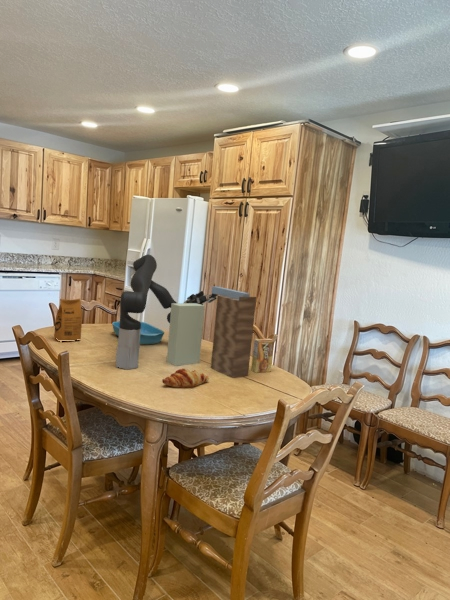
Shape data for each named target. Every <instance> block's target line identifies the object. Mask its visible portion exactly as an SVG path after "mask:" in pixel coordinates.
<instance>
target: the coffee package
mask: <svg viewBox="0 0 450 600" xmlns="http://www.w3.org/2000/svg"><path fill="white" fill-rule="evenodd" d="M59 302H60V304H59V306H58V309H57V313H56V315H55V319H54V320H55V323H54V334H53V335H54V336H53V337H54V339H55V338H57V339H58V340H77V339H82V338H81V337H82V326H83V325H82V323H83V321H82V320H83V311H82V304H81V303H82V301H81V298H75V299H65V298H60V299H59Z"/></svg>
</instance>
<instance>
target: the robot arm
mask: <svg viewBox="0 0 450 600" xmlns="http://www.w3.org/2000/svg"><path fill="white" fill-rule="evenodd" d="M157 265H158V264H157V260H156V259H155V257H154V256H153V255H152V254H144V255H143V256H142V257H139V258H138V259H136V260H134V261H133V263H132V266H133V269H134V271H135V272H134V273H133V275H132V277H131V279H130V287H131V290H132V291H129V290H124V291H122V292H121V295H120V298H119V299H120V300H119V301H120V302H119V321H120V325H119V336H118V339H117V340H118V341H117V342H118V344H117V346H116V353H115V354H116V355H115V368H118V367H119V369H124V370H132V369H136V368H138V367H139V357H140V346H141V345H140V332H141V323H140V322H141V321H140V320H137V319H135V318H133V317H132V316H130V315H129V313H130V314H142V313H144V312H145V309H146V306H147V300H148V294H149V291H150V292H152V293H153V295H154V296H155V297H156V299H157V300H158V302H159V303H160V305H161V307H162V309H165V310H167V309H171V303H178V302H177V301H176V300H174V298H173V296H172V295H171V292H169V290H168V289H167V288H166V287H165V286H162V285H161V284H159V283H157V282H156V281H154V280H152V279H153V277H154V273H155V272H156V270H157ZM218 296H219V295H217V294H213V293H212V292H211V293H210V294H207V293H206V294H205V293H204V291H203V290H201V291H199V292H198V293H195V294H194V293H192V294H191V295H189V296H188V297H187V298H186V300H184V301H183V303H197V304H201V305H205V304H206V303H208V304H210V303H212V302H214V301H217V297H218ZM170 315H171V311H170V312H168V314H167V315H166V320H167V322H168V323H169V324H170Z"/></svg>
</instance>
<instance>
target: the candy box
mask: <svg viewBox="0 0 450 600" xmlns="http://www.w3.org/2000/svg"><path fill="white" fill-rule="evenodd" d="M253 341H254V342H253V350H252V359H251V369H250V371H252V372H253V373H254V374H255V373H256V374H257V373H268V372H271V370H272V365H273V364H272V363H273V354H274V347H275V346H274V345H275V340H274V339H272V338H255V339H253Z"/></svg>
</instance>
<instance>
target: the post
mask: <svg viewBox="0 0 450 600" xmlns="http://www.w3.org/2000/svg"><path fill="white" fill-rule="evenodd" d="M216 298H217V299H216V308H215V309H216V310H215V317H214V318H215V319H214V320H215V321H214V322H215V323H214V330H213V340H212V352H211V363H210V368H211V369H212V370H214V371H217V372H219V373H221V374H223V375H225V376H227V377H229V378H232V379H235V378H241V377H243V378H244V377H247V376H249V371H250V370H249V369H250V360H251V351H252V350H251V349H252V340H253V333H254V323H255V314H256V303H257V296H249V297H239V300H238V299H234V298H230V297H226V296H222V295H218V296H216Z"/></svg>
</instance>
